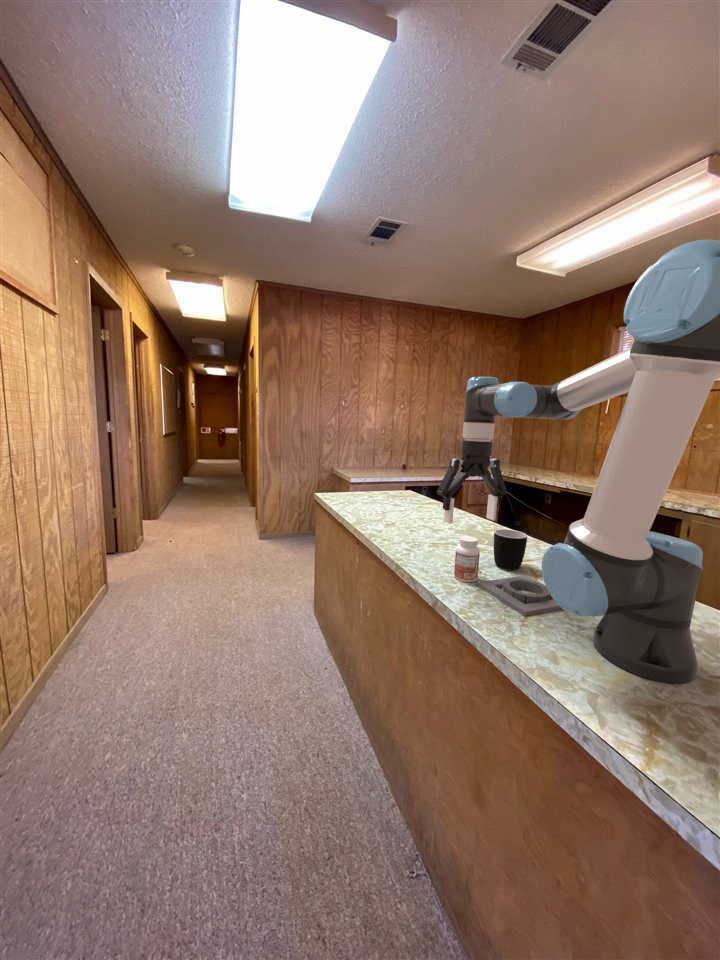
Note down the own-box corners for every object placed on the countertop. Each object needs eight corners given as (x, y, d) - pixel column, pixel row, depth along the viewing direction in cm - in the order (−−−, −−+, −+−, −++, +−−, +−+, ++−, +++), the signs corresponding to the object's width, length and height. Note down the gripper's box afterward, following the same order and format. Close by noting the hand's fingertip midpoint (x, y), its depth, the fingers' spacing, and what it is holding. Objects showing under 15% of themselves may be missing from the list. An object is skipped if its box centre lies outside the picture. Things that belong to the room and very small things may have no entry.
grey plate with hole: (577, 605, 88) (578, 597, 88) (524, 616, 83) (525, 606, 82) (525, 578, 103) (526, 571, 103) (477, 585, 97) (478, 577, 97)
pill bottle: (462, 571, 106) (466, 533, 105) (482, 579, 102) (485, 539, 100) (449, 576, 102) (452, 537, 101) (468, 584, 98) (472, 543, 96)
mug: (529, 573, 107) (533, 538, 106) (497, 572, 107) (501, 537, 105) (512, 558, 119) (515, 526, 117) (483, 556, 119) (486, 525, 117)
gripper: (505, 439, 104) (497, 514, 108) (427, 438, 95) (421, 519, 99) (526, 441, 97) (517, 521, 101) (443, 440, 88) (437, 527, 92)
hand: (469, 520), depth 100 cm, fingers open, 13 cm apart
